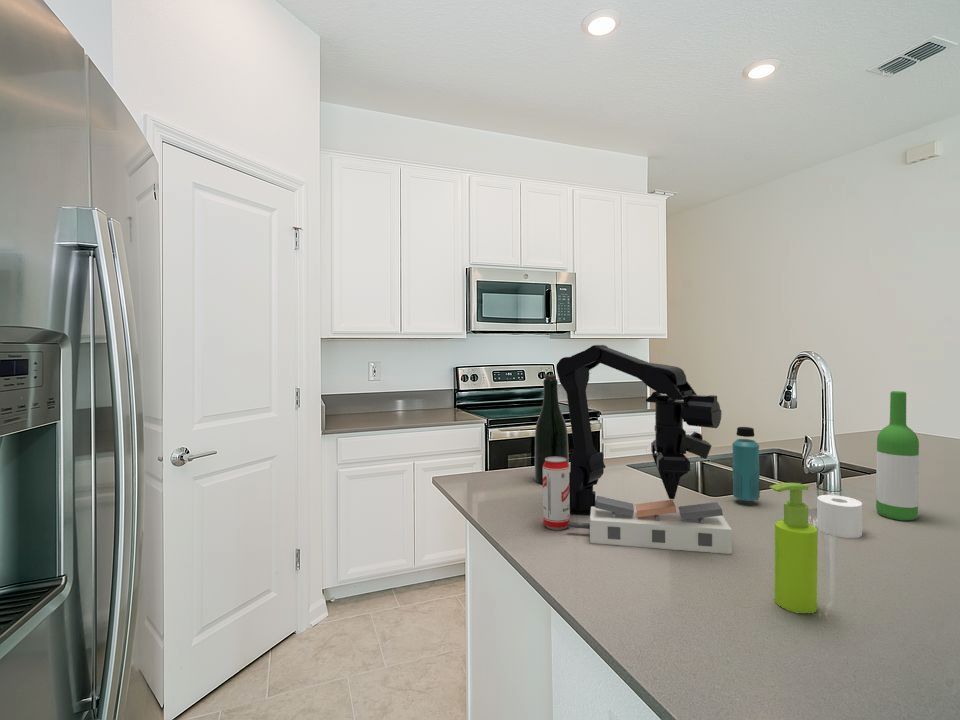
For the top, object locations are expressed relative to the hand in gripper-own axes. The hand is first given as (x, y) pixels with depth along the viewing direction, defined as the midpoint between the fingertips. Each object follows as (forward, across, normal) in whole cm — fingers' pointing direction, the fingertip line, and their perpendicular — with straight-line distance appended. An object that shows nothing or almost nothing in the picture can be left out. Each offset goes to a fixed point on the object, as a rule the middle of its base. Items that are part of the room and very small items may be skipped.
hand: (669, 492), depth 113 cm
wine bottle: (+9, +22, -54) cm, 59 cm away
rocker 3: (+3, -4, -6) cm, 8 cm away
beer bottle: (+10, +37, +30) cm, 48 cm away
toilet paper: (+10, +11, -38) cm, 40 cm away
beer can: (+10, 0, +25) cm, 27 cm away
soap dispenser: (+10, -28, -16) cm, 33 cm away
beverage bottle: (+10, +26, -22) cm, 35 cm away
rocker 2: (+3, -4, +3) cm, 6 cm away
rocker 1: (+3, -4, +12) cm, 13 cm away
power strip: (+9, -4, +6) cm, 12 cm away
